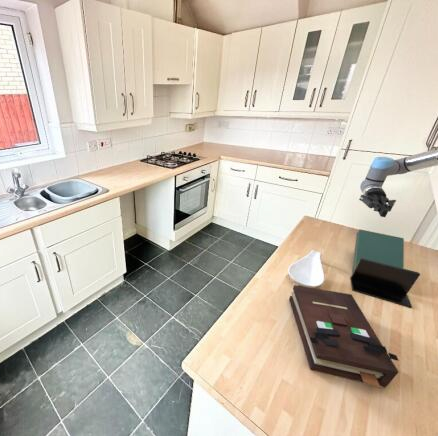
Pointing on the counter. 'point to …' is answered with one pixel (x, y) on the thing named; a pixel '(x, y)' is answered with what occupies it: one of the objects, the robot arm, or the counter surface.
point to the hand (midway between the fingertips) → (384, 214)
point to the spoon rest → (308, 270)
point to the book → (379, 248)
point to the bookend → (383, 281)
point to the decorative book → (340, 337)
